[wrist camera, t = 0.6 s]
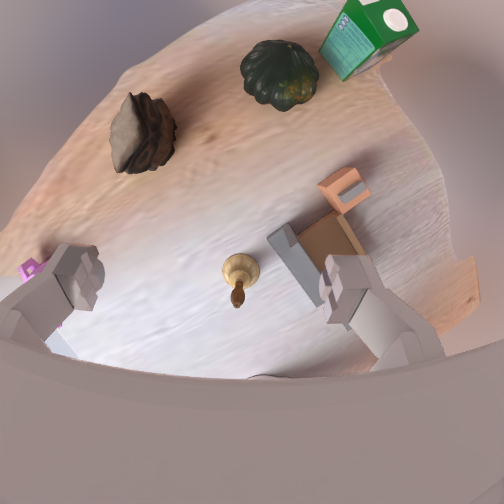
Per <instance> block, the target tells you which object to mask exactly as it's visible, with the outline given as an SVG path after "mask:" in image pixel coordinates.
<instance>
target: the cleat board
mask: <svg viewBox="0 0 504 504" xmlns="http://www.w3.org/2000/svg"><path fill="white" fill-rule="evenodd" d="M267 240H268V242H269V243H270V244H271V246H272V247H273V248H274V250H275V251H276V252H277V254H278V255H279V256H280V258H281V259H282V261H283V262H284V263H285V265H286V266H287V267H288V269H289V270H290V271H291V273H292V274H293V276H294V277H295V278H296V280H297V281H298V282H299V284H300V285H301V287H302V288H303V289H304V291H305V292H306V293H307V295H308V296H309V298H310V299H311V300H312V302H313V303H314V305H315V306H316V307H318V306H320V305H322V304H323V303H325V302H324V301H323V300H322V299H321V297H320V293H319V281H320V277H321V273H322V272H323V271H324V270H325V269H326V265H325V261H326V258H327V257H328V255H354V256H355V255H366V253H365V251H364V249H363V248H362V246H361V244H360V242H359V241H358V239H357V237H356V236H355V234H354V232H353V231H352V229H351V227H350V226H349V224H348V222H347V221H346V219H345V217H344V216H343V214H341V213H340V212H338V211H336V210H335V209H334V210H333V211H331V212H330V213H329V214H327V215H326V216H324V217H323V218H321V219H320V220H319V221H317V222H316V223H314V224H313V225H311V226H310V227H308V228H307V229H306V230H304V231H303V232H301V233H300V234H298V235H296V234H295V232H294V231H293V229H292V228H291V226H290V225H289V224H288V223H286V224H285V225H284V226H282V227H281V228H279V229H278V230H276V231H275V232H274V233H272V234H271V235H269V236H268V237H267ZM343 325H344V326H345V328H346V329H347V331H349V330H351V329H352V328H351V326H350V325H349V323H343Z"/></svg>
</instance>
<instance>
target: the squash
mask: <svg viewBox="0 0 504 504" xmlns="http://www.w3.org/2000/svg"><path fill="white" fill-rule="evenodd" d="M240 70H241V74H242V76H243V77H244V79H245V80H244V90H245V91H246V92H247V93H248V94H250V95H252V96H254V97H255V99H256V101H257V102H258V103H260V104H269V103H270V104H272V106H273V107H274V108H276V109H277V110H279V111H282V112H286V111H288V110H289V109H291V108H292V107H293V106H294V105H296V104H303V103H305V102H308V101H309V100H310V99H311V98H312V96H313V95H314V94H315V91H316V82H317V80H318V78H319V73H318V70H317V68H316V67H315V65H314V61H313V59H312V58H311V56H310V55H309V54H308V53H307V52H306V51H305V50H304V48H303V47H302V46H300V45H298V44H296V43H292V42H287V41H283V40H267V41H262V42H260V43H258V44H257V45H256V46H255V47H254V48H253V50H252V51H251V52H250V53H249V54H248V55H247V56H246V57H245V58H244V59H243V61H242V62H241V65H240Z"/></svg>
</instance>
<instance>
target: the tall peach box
mask: <svg viewBox="0 0 504 504" xmlns="http://www.w3.org/2000/svg"><path fill="white" fill-rule="evenodd" d="M317 186H318V187H319V189H320V190H321V192H322V193H323V195H324V196H325V198H326V199H327V201H328V202H329V204H330V205H331V207H332V208H333V209H335V210H336V211H338V212H340V213H341V214H344V213H346V212H347V211H348V210H350V209H351V208H353V207H354V206H356V205H357V204H358V203H360V202H361V201H363V200H364V199H365V198H367V197H368V196H370V195H371V193H370V191H369V190H368V188H367V186H366V185H365V183H364V181H363V180H362V178H361V176H360V175H359V173H358V171H357V170H356V168H350V167H343V168H341V169H340V170H338V171H337V172H335V173H334V174H332V175H331V176H329V177H328V178H327V179H325V180H324V181H322V182H321V183H319V184H318V185H317Z"/></svg>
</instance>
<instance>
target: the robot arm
mask: <svg viewBox="0 0 504 504" xmlns="http://www.w3.org/2000/svg"><path fill="white" fill-rule="evenodd" d="M98 255H99V253H98V250H97V248H96V246H94V245H85V244H66V243H62V244H60V245H59V246H58V247H57V249H56V250H55V252H54V253H53V255H52V256H51V258H50V259H49V261H48V263H47V264H46V266H45V267H44V269H43V271H42V272H41V273H37V274H36V275H35V276H33V277H32V278H30V279H29V280H28V281H26V282H25V283H24V284H22V285H21V286H20V287H19V288H17V289H16V290H15V291H14V292H12V293H11V294H10V295H8V296H7V297H6V298H5V299H3V300H2V301H1V302H0V504H504V339H502V340H500V341H497V342H494V343H491V344H488V345H485V346H482V347H479V348H475V349H472V350H469V351H466V352H462V353H459V354H455V355H451V356H447V357H446V355H445V353H444V350H443V348H442V345H441V343H440V340H439V338H438V335H437V333H436V331H435V328H434V327H433V326H432V325H431V324H430V323H428V322H427V321H426V320H425V319H424V318H423V317H422V316H420V315H419V314H418V313H417V312H416V311H415V310H413V309H412V308H411V307H410V306H409V305H408V304H406V303H405V302H404V301H403V300H402V299H400V298H399V297H398V296H397V295H396V294H394V293H393V292H392V291H391V290H390V289H385V287H384V285H383V283H382V281H381V279H380V276H379V274H378V272H377V270H376V268H375V266H374V264H373V261H372V259H371V258H370V257H369V256H368V255H355V256H354V255H328V257H327V258H326V261H325V265H326V269H325V270H324V271H323V272H322V273H321V277H320V281H319V293H320V297H321V299H322V300H323V301H324V302H325V305H324V307H323V310H324V314H325V318H326V322H327V324H331V323H349V325H350V326H351V328H352V329H353V330H354V331H355V332H356V334H357V335H358V336H359V337H360V338H361V339H362V341H363V342H364V343H365V344H366V345H367V347H368V348H369V349H370V350H371V351H372V352H373V354H374V355H375V356H376V357H377V358H378V361H377V362H376V363H375V364H374V366H373V367H372V368H371V369H370V370H369V372H363V373H355V374H346V375H337V376H325V377H312V378H294V379H290V378H288V377H282V378H278V377H273V376H267V375H261V376H255V377H251V378H249V379H221V378H202V377H189V376H178V375H168V374H159V373H151V372H144V371H137V370H130V369H124V368H118V367H112V366H107V365H102V364H97V363H92V362H87V361H83V360H78V359H74V358H70V357H66V356H62V355H58V354H55V353H52V352H51V350H50V348H49V347H48V346H47V345H46V344H45V340H46V339H47V338H48V337H49V336H50V335H51V334H52V333H53V332H54V331H55V329H56V328H57V327H58V326H59V325H60V324H61V323H62V322H63V321H64V320H65V319H66V318H67V317H68V316H69V315H70V314H71V313H72V312H73V311H74V309H77V310H85V311H92V310H93V307H94V305H95V302H96V300H97V298H98V297H97V294H96V292H97V291H98V290H99V289H101V288H102V285H103V283H104V277H105V271H104V267H103V264H102V262H101V261H100V260H99V259H97V257H98Z"/></svg>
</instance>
